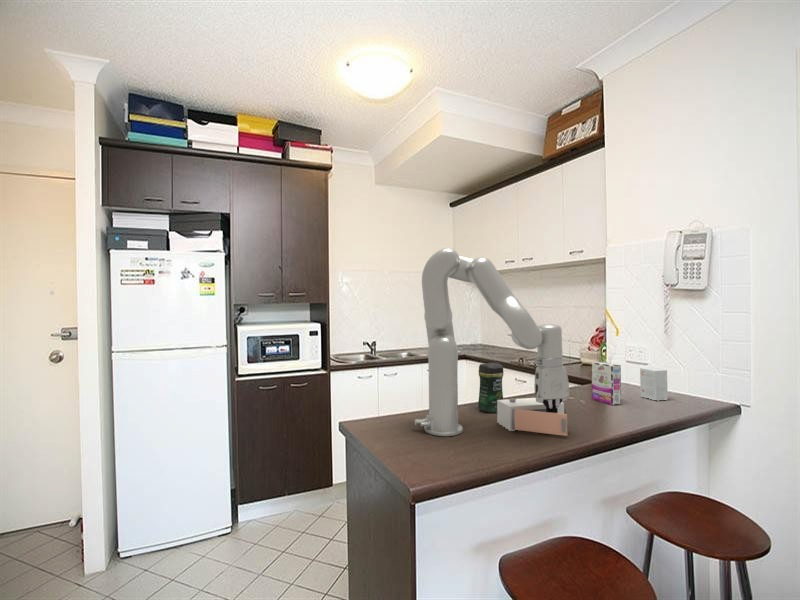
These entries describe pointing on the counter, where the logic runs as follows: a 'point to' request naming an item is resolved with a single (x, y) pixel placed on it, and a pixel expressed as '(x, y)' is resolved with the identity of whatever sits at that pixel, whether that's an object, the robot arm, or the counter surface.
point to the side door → (539, 422)
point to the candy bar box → (606, 383)
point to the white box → (523, 404)
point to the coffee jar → (490, 386)
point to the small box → (653, 383)
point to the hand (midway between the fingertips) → (552, 419)
